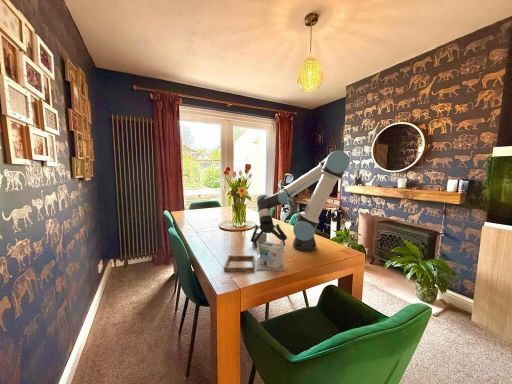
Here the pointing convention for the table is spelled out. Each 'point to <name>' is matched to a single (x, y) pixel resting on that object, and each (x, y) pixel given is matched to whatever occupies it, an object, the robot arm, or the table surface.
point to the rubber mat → (266, 268)
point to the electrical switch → (260, 239)
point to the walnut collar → (239, 269)
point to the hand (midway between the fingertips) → (271, 252)
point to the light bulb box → (271, 254)
